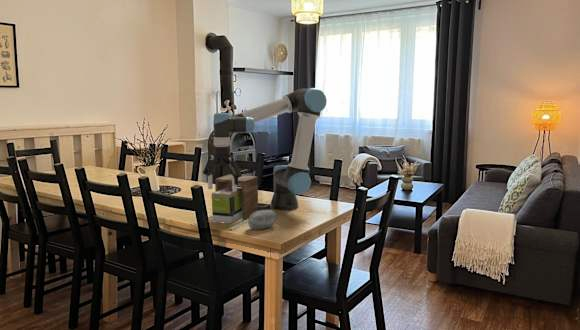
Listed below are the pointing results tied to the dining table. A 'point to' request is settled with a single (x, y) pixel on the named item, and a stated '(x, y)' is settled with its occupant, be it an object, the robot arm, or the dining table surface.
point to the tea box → (227, 205)
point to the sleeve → (243, 192)
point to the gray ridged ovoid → (262, 219)
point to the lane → (235, 225)
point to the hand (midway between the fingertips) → (222, 190)
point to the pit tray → (264, 206)
